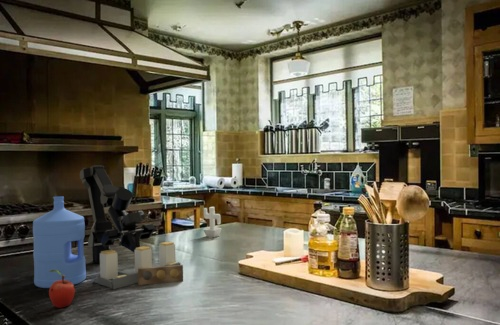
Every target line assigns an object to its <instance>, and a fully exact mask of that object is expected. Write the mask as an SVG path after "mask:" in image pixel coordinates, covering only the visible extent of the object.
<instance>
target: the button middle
mask: <svg viewBox="0 0 500 325" xmlns="http://www.w3.org/2000/svg"><path fill="white" fill-rule="evenodd" d="M152 251H153V250H152V248H151V246H145V245H144V246H140V247H138V248H136V250H134V252H133V253H134V269H135V273H137V272H138V268H147V267H152V264H153V263H152V262H153V256H152V255H153V254H152V253H153V252H152Z"/></svg>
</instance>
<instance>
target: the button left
mask: <svg viewBox="0 0 500 325" xmlns="http://www.w3.org/2000/svg"><path fill="white" fill-rule="evenodd" d="M118 257H119V256H118V252H117V250H113V249H111V250H106V251H101V253H100V263H99V273H100V274H99V275H100V276H99V277H102V278H105V279H108V280H109V279H112V278H116V277H117V276H118V272H119V265H118V264H119V263H118Z"/></svg>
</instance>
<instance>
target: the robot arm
mask: <svg viewBox="0 0 500 325" xmlns="http://www.w3.org/2000/svg"><path fill="white" fill-rule="evenodd" d="M79 179H80V180H81V183H82V185H83V186H84V188H85V189H87V193H88V197H89V198H88V199H89V202H90V208H91V214H92V215H91V216H92V221H93V225H92V226H91V229H90V235H89V237H88V238H87V239H88V240H87V245H88V248H91V249H92V250H91V252H92V254H91V255H92V261H91V264H100V253H101V251H106V250H112V248H111V246H113V245H114V243H115V240H119V242H118V245H119V246H120V247H121V246H122V247H124V248H125V249H127V250H129V251H131V252H132V253H134V250H136V248H138V247H141V244H140V243H141V242H140V241H141V240H142V241H144V240H149V239H150V238H151V237H152V235H153V233H154V232H155V230H156V227H155V225H154V224H153V223H146V224H142V225H141V227H140V228H138V226H139V224H140V222H143V220H145V219H146V214H145V213H144V211H143V210H138V211H136V212H135V211H134V212H129V213H127V211H126V210H129V206H130V204H131V201H132V200H133V197H134V195H133V192H132V191H131V190H130V189H128V188H125V186H118V187H117V186H116V185H114V184H113V182H112V180H111V178H110V176H109V175H108V174H107V171H106V166H105V165H92V166H90V167H83V168H82V169H80V172H79ZM105 208H108V209H107V210H108V211H107V218H108V219H110V220H111V221H110V220H107V218H106V213H105ZM136 228H138V229H136Z"/></svg>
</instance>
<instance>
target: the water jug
mask: <svg viewBox="0 0 500 325" xmlns="http://www.w3.org/2000/svg"><path fill="white" fill-rule="evenodd" d="M52 199H53V209H52V210H50V211H49V212H46V213H45V214H42V215H41V216H39V217H37V218H35V219H34V220H33V221H32V235H33V266H34V268H33V269H34V270H33V271H34V277H33V283H34V286H35V287H37V288H41V289H42V288H43V289H50V287H51V285H52V284H53V283H54V282H56V281H59V280H62V276H63V275H65V277H64V280H67V281H69V282H71V283H72V284H73V285H74V286H75V285H77V284H80V283H82V282H83V281H85V279H87V270H86V257H85V256H84V255H85V250H84V249H85V248H84V246H85V245H84V239H85V232H86V230H85V229H86V224H85V217H84V216H83V215H80V214H79V213H75V212H74V211H70V210H68V209H66V208H65V204H64V203H65V201H64V199H65V197H64V196H62V195H61V196H53V197H52ZM75 241H77V254H73V253H72V242H75ZM50 270H56V271H60V273H61V275H60V274H59V273H58V272H56V271H54V272H49V271H50Z"/></svg>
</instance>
